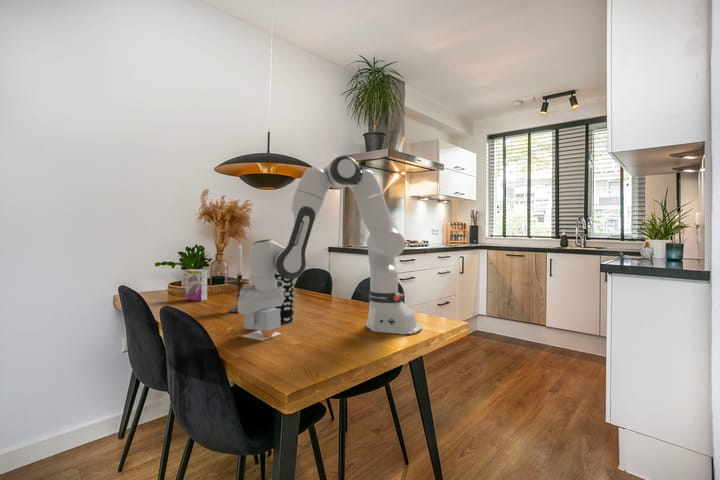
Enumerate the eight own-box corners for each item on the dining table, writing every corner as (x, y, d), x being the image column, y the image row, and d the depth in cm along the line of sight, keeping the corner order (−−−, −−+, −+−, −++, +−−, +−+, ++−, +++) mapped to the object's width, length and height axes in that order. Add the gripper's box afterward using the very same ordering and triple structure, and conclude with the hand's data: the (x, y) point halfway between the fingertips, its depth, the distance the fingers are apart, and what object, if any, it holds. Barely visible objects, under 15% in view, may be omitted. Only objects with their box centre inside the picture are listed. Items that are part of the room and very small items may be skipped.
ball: (265, 323, 134) (270, 336, 133) (255, 326, 129) (260, 340, 128) (274, 319, 132) (279, 332, 131) (265, 321, 127) (270, 335, 126)
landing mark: (281, 333, 134) (281, 333, 134) (262, 340, 125) (262, 340, 125) (261, 329, 138) (261, 329, 138) (241, 336, 130) (241, 335, 130)
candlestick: (223, 310, 170) (223, 236, 169) (244, 307, 178) (244, 236, 177) (234, 314, 163) (234, 237, 162) (255, 311, 170) (256, 237, 170)
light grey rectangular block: (280, 326, 132) (280, 308, 132) (267, 330, 126) (266, 312, 126) (258, 324, 137) (257, 307, 137) (244, 328, 131) (243, 310, 131)
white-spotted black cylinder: (288, 324, 148) (289, 275, 147) (269, 322, 149) (270, 274, 149) (296, 319, 156) (296, 273, 155) (278, 318, 157) (278, 272, 157)
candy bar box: (184, 300, 195) (184, 269, 194) (191, 298, 199) (191, 269, 199) (201, 301, 191) (201, 270, 191) (207, 300, 196) (207, 269, 196)
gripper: (246, 288, 121) (246, 329, 121) (286, 281, 139) (286, 317, 139) (233, 286, 124) (232, 327, 124) (274, 280, 142) (273, 315, 142)
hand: (261, 321), depth 131 cm, fingers closed on light grey rectangular block, 7 cm apart
